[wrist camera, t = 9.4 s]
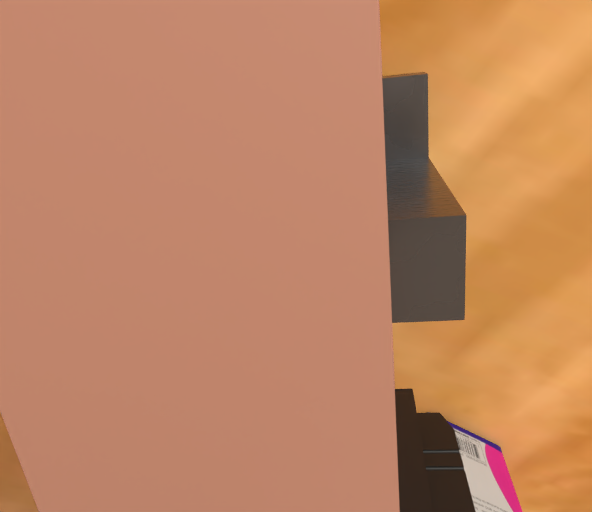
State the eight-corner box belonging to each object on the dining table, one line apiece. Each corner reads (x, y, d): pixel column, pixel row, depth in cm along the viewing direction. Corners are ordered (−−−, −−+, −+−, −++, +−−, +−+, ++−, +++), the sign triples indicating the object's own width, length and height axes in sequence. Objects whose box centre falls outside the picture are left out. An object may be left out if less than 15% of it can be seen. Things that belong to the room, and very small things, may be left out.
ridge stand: (259, 295, 32) (215, 414, 22) (229, 92, 27) (157, 121, 17) (426, 287, 31) (462, 409, 20) (423, 72, 26) (468, 90, 16)
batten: (290, 688, 17) (253, 1068, 11) (133, -213, 9) (-537, -984, 2) (396, 694, 17) (422, 1095, 10) (346, -252, 8) (321, -1396, 2)
